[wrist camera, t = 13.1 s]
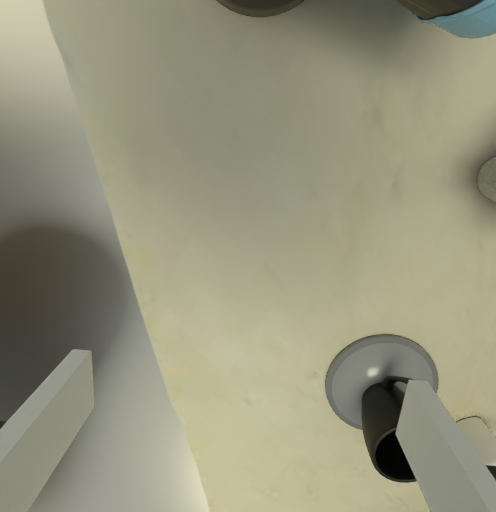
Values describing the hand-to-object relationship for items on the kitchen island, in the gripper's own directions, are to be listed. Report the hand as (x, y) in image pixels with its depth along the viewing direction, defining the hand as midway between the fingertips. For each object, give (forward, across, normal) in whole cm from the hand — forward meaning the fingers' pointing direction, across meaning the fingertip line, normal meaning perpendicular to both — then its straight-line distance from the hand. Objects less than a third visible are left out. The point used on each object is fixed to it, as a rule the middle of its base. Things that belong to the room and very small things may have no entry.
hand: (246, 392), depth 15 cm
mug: (+31, +19, -20) cm, 42 cm away
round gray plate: (+31, +19, -20) cm, 42 cm away
